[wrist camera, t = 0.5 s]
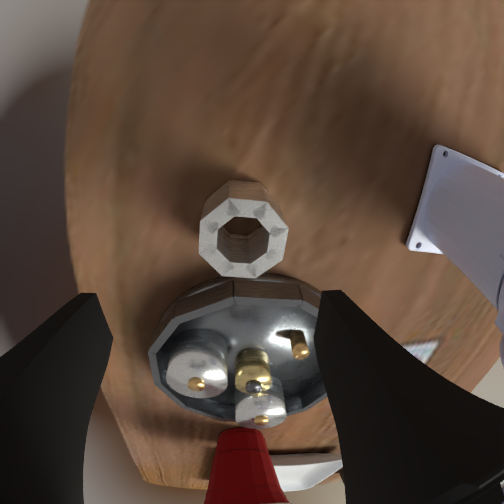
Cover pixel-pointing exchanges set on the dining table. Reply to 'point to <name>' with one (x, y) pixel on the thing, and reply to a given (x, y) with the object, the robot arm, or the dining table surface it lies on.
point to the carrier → (240, 350)
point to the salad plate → (304, 469)
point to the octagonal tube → (242, 246)
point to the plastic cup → (243, 471)
